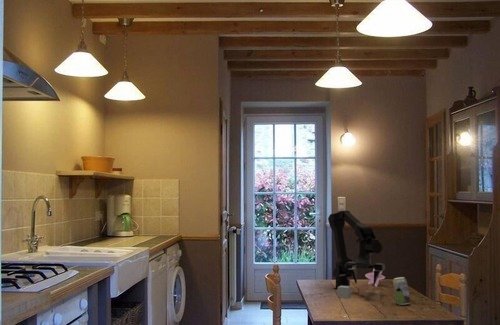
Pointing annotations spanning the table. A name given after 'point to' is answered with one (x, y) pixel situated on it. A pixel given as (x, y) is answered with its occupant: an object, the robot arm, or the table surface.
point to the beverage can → (401, 291)
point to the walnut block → (372, 295)
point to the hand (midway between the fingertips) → (365, 283)
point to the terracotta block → (364, 288)
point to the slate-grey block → (344, 291)
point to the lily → (371, 277)
